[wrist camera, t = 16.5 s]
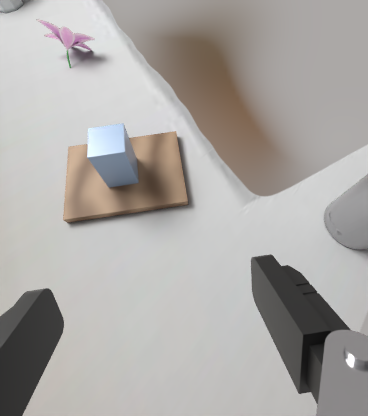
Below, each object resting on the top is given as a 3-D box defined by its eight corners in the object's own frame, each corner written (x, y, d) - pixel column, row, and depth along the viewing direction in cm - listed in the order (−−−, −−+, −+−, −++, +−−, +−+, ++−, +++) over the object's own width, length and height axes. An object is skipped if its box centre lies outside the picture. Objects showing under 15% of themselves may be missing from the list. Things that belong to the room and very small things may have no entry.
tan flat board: (176, 136, 49) (173, 103, 41) (188, 204, 42) (186, 180, 35) (72, 151, 48) (48, 121, 41) (67, 222, 42) (38, 202, 34)
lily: (107, 66, 61) (98, 19, 55) (63, 71, 54) (48, 17, 48) (83, 64, 67) (73, 21, 61) (41, 68, 60) (26, 20, 55)
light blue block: (136, 158, 45) (123, 123, 37) (138, 183, 43) (124, 151, 34) (108, 162, 45) (88, 128, 37) (108, 187, 43) (87, 157, 34)
